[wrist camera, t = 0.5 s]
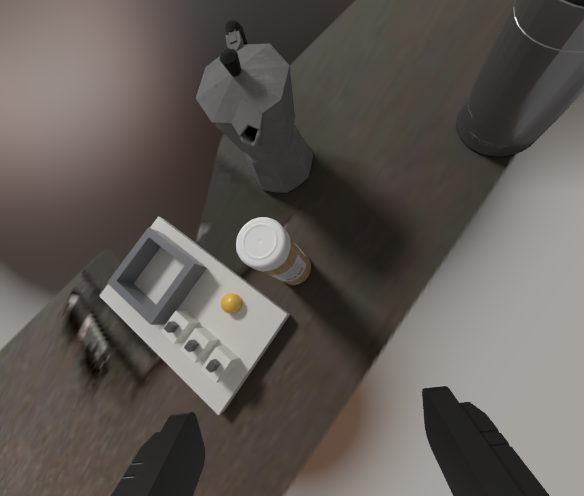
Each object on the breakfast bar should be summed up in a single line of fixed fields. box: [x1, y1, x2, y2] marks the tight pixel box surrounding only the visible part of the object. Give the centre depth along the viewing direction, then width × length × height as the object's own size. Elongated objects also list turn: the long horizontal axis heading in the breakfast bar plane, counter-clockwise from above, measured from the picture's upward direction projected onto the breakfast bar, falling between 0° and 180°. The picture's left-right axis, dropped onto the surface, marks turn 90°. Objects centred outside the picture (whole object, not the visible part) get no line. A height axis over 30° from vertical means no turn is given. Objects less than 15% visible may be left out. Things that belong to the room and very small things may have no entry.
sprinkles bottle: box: [236, 217, 311, 285], centre depth 30 cm, size 5×5×13 cm
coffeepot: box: [196, 20, 313, 193], centre depth 33 cm, size 15×9×18 cm, turn 10°
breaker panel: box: [100, 217, 290, 415], centre depth 36 cm, size 14×24×5 cm, turn 54°
